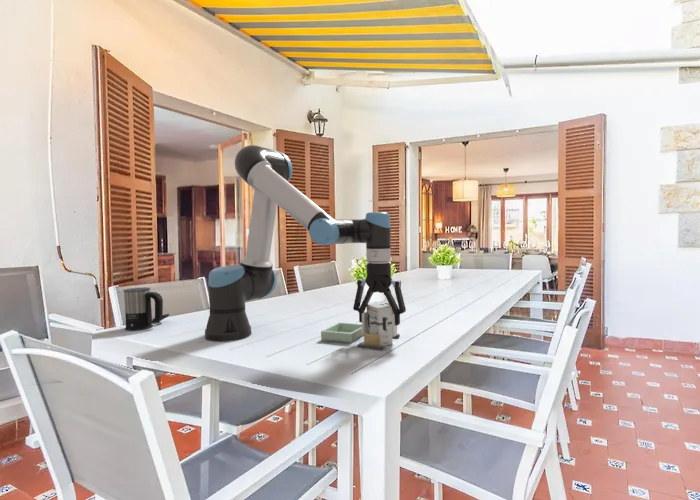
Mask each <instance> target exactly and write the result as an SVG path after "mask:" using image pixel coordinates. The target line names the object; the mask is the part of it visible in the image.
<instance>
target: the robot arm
mask: <svg viewBox="0 0 700 500" xmlns="http://www.w3.org/2000/svg"><path fill="white" fill-rule="evenodd" d="M234 168H235V171H236V174H238V176H239V178H241V179H242V180H243V181H244V182H245V183H246V184H247V185H248V186H250V187H251V188H252V190H253V196H252V197H253V198H252V203H251V204H252V205H251V213H250V221H249V226H248V235H247V241H246V243H247V244H246V249H245V256H244V257H243V258H242V259H240V262H239V265H238V264H233V265H226V266H225V265H224V266H220V267H216V268H215V267H214V269H212V270H210V271H209V274H208V282H207V285H208V300H209V305H208V306H209V316H208V318H207V319H208V320H207V325H206V328H205V329H204V339H205V340H208V341H213V342H227V341H228V342H229V341H235V340H236V341H237V340H242V339H245V338H247V337H250V336H251V335H252V326H251V325H250V321H249V318H248V315H247V311H246V302H248V301H252V300H257V299H258V300H259V299H262V298H265V297H268V296H270V295H271V294H272V293H273V292H274V290H275V288H276V286H277V284H278V283H277V282H278V277H277V274H276V272H275V269H273V267H274V264H273V263H272V261H271V259H270V256H271V249H272V244H273V243H272V242H273V235H274V229H275V228H274V227H275V223H276V222H275V221H276V216H277V215H276V214H277V209H278V208H277V207H278V206H279V207H280V209H282V210H283V211H284V212H286V213H287V214H288V215H289V216H290V217H292V218H293V219H294V220H295V221H296V222H297V223H298V224H300V225H301V226H302V227H303V228H305V230H307V231H308V235H309V236H310V239H311V241H312V242H313V243H315V244H317V245H320V246H321V245H322V246H332V245H342V244H365V248H366V249H365V250H366V253H365V255H366V259H365V260H366V262H367V263H366V277H365V278H363V279H362V278H361V279H357V280H356V285H357V289H356V294H355V298H354V303H353V307H352V308H353V311H356V312H358V319H359V320H358V321H359V324H362V334H364V333H367V311H366V310H367V304H370V303H369V302H370V301H371V299H372V297H373V294H374V293H380V294H383V296H385V298H386V300H387V302H389V304H390V306H391V307H392V310H393V312H394V314H393V315H392V337H395V336H396V335H397V334H398V326H399V325H401V317H400V316H401V314H404V313H406V312H407V308H406V305H405V300H404V296H403V293H402V292H403V291H402V288H401V285H402V281H401V280H394V279H392V267H391V266H392V263H391V262H390V261H391V259H392V257H391V251H392V250H391V227H392V226H391V218H390V217H391V216H390V214H389V213H388V212H385V211H381V212H380V211H376V212H375V211H374V212H366V214H365V218H362V219H342V218H341V219H340V218H338V219H337V218H333V217H332V216H331V215H329V214H328V213H327V212H326V211H325V210H323V209H322V208H321V207H319V206H318V204H316V203H315V202H314V201H312V200H311V199H310V198H309V197H307V196H306V195H305V194H304V193H303V192H301V191H300V190H299V189H297V188H296V187H295V186H294V185H293V184H291V183H290V182H289V181H290V180H291V178H292V175H293V164H292V162H291V159H290V158H289V157H288V155H286V154H285V153H284V152H281V151H279V150H275V149H271V148H268V147H264V146H263V147H262V146H259V145H255V144H252V145H246V146H244V147H242V148H241V149H240V150H239V151H238V152H237V153H236V156H235V157H234ZM365 285H367V287H368V289H367V290H366V293H365V296H364V298H363V293H364V289H365ZM391 286H392V288H394V293H395V297H396V298H394V296H393V294H392V291H391V288H390V287H391ZM362 298H363V301H362ZM395 299H396V300H395ZM396 301H397V302H396Z"/></svg>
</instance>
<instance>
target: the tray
mask: <svg viewBox="0 0 700 500" xmlns="http://www.w3.org/2000/svg"><path fill="white" fill-rule="evenodd" d="M362 338H364V334H362V323H351V322H338V323H335V324H332V325H331V326H329V327H326V328H325V329H323V330H320V339H321V341H323V342H332V343H344V344H353V343H355V342H356V341H358V340H359V339H362Z"/></svg>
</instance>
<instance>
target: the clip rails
mask: <svg viewBox="0 0 700 500" xmlns="http://www.w3.org/2000/svg"><path fill="white" fill-rule="evenodd" d="M392 339H395V338H394V337H392ZM363 341H364V342H363V344H370V345H381V336H380V334H371V333H364V336H363Z"/></svg>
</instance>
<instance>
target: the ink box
mask: <svg viewBox="0 0 700 500" xmlns="http://www.w3.org/2000/svg"><path fill="white" fill-rule="evenodd" d="M366 312H367V333H371V334H380V336H381V345H382V346H390V345H391V346H392V345H393V338H392V307H391V306H389V305H386V304H384V303H383V302H373V303H368V304H367V307H366Z"/></svg>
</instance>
